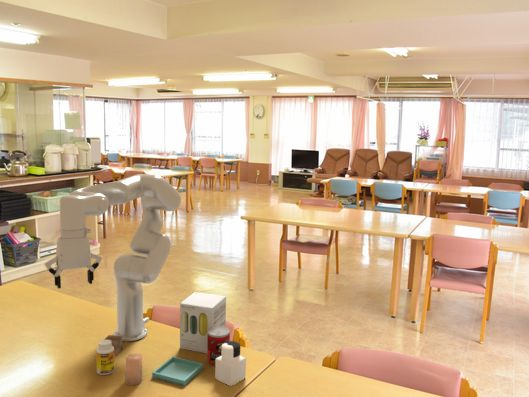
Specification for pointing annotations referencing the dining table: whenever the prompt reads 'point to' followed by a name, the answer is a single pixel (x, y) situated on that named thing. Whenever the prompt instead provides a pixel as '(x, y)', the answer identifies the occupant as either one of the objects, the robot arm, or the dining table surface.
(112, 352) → the supplement bottle
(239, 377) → the medicine bottle
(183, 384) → the tray
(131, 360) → the peach rounded capsule
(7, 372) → the dining table surface
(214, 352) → the canned food
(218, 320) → the supplement box
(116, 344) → the walnut block
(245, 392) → the dining table surface
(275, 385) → the dining table surface
